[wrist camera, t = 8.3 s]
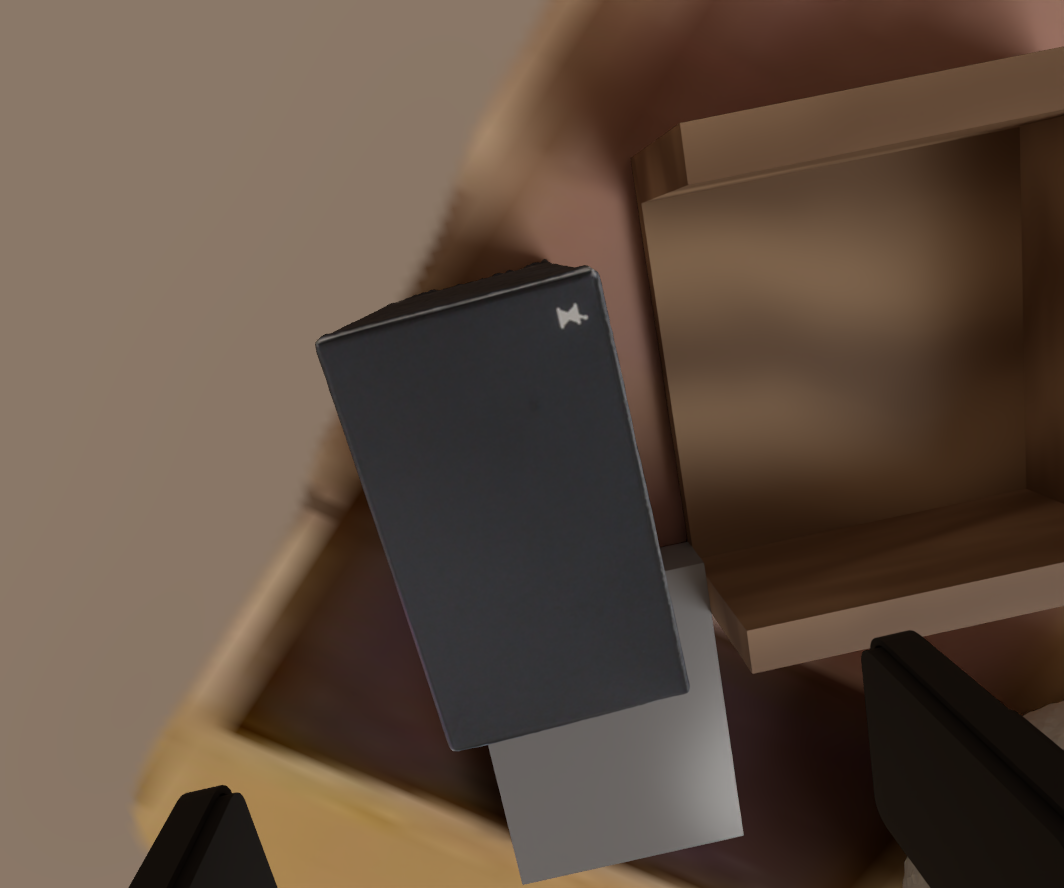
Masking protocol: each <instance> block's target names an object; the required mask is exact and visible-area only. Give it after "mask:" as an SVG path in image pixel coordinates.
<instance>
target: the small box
mask: <svg viewBox="0 0 1064 888" xmlns="http://www.w3.org/2000/svg"><path fill="white" fill-rule="evenodd" d="M315 346H316V352H317V355H318V358H319V361H320V363H321V367H322V369H323V372H324V375H325V377H326V380H327V384H328V387H329V391H330V393H331V396H332V399H333V402H334V404H335V408H336V410H337V413H338V416H339V419H340V422H341V425H342V428H343V431H344V434H345V437H346V440H347V443H348V446H349V449H350V452H351V455H352V457H353V460H354V463H355V466H356V469H357V472H358V475H359V478H360V481H361V484H362V487H363V490H364V493H365V496H366V499H367V502H368V505H369V508H370V511H371V513H372V516H373V519H374V522H375V525H376V528H377V531H378V534H379V537H380V540H381V543H382V546H383V549H384V552H385V555H386V558H387V561H388V564H389V567H390V570H391V573H392V576H393V579H394V582H395V585H396V588H397V591H398V594H399V597H400V600H401V603H402V606H403V609H404V612H405V615H406V618H407V621H408V624H409V627H410V630H411V633H412V636H413V639H414V642H415V645H416V648H417V651H418V654H419V657H420V660H421V663H422V666H423V669H424V672H425V675H426V678H427V681H428V684H429V687H430V690H431V693H432V696H433V700H434V703H435V706H436V709H437V712H438V715H439V718H440V721H441V724H442V727H443V730H444V733H445V736H446V739H447V742H448V745H449V748H450V749H451V750H452V751H461V750H466V749H471V748H476V747H481V746H485V745H489V744H494V743H497V742H501V741H505V740H509V739H514V738H518V737H522V736H525V735H528V734H532V733H538V732H541V731H544V730H548V729H552V728H556V727H561V726H565V725H568V724H572V723H575V722H579V721H582V720H586V719H591V718H595V717H599V716H602V715H606V714H610V713H614V712H618V711H622V710H626V709H630V708H633V707H637V706H641V705H644V704H648V703H652V702H656V701H660V700H664V699H667V698H671V697H674V696H679V695H684V694H686V693H689V689H690V684H689V680H688V675H687V670H686V665H685V661H684V656H683V652H682V647H681V642H680V638H679V633H678V628H677V623H676V619H675V614H674V609H673V605H672V601H671V597H670V593H669V589H668V583H667V578H666V574H665V569H664V564H663V559H662V555H661V551H660V547H659V542H658V537H657V532H656V528H655V522H654V517H653V513H652V509H651V504H650V500H649V496H648V491H647V486H646V481H645V478H644V474H643V469H642V464H641V460H640V456H639V451H638V447H637V444H636V439H635V434H634V429H633V424H632V419H631V415H630V410H629V406H628V402H627V398H626V392H625V386H624V382H623V378H622V373H621V369H620V364H619V360H618V355H617V351H616V347H615V343H614V338H613V332H612V329H611V327H610V321H609V316H608V311H607V307H606V302H605V298H604V293H603V288H602V283H601V279H600V276H599V274H598V272H597V271H595V270H593V269H592V268H591V267H589V266H586V265H584V266H579V267H575V268H574V267H568V266H562V265H558V264H552V263H550V262H548V261H547V260H546V259H544V260H542V262H541V263H538V262H537V263H532V264H530V265H527V266H526V267H524V268H523V269H520V270H517V271H512V270H509V271H506V273H504V274H503V273H497V274H494V275H493V276H492V277H489V278H485V279H483V278H482V279H480V280H478V281H475V282H470V283H466V284H458V285H456V286H454V287H450V288H447V289H443V290H440V291H438V290H430V291H428V292H423V293H421V294H419V295H414V296H412V297H410V298H407V299H405V300H402V301H399V302H396V303H391V304H389V305H387V306H386V307H384V308H382V309H380V310H378V311H376V312H374V313H372V314H369V315H368V316H366V317H364V318H362V319H360V320H358V321H355V322H353V323H351V324H349V325H347V326H344V327H342V328H341V329H339V330H337V331H335V332H333V333H331V334H325V335H323V336H321V337H320V338H319V339H318V340H317V341H316V344H315Z"/></svg>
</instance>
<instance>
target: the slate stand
mask: <svg viewBox="0 0 1064 888" xmlns="http://www.w3.org/2000/svg"><path fill="white" fill-rule="evenodd" d="M660 551H661V555H662V559H663V564H664V569H665V574H666V578H667V583H668V589H669V593H670V597H671V601H672V605H673V609H674V614H675V619H676V623H677V628H678V633H679V638H680V642H681V647H682V652H683V656H684V661H685V665H686V670H687V675H688V680H689V684H690V689H689V693H686V694H684V695H679V696H674V697H671V698H667V699H664V700H660V701H656V702H652V703H648V704H644V705H641V706H637V707H633V708H630V709H626V710H622V711H618V712H614V713H610V714H606V715H602V716H599V717H595V718H591V719H586V720H582V721H579V722H575V723H572V724H568V725H565V726H561V727H556V728H552V729H548V730H544V731H541V732H538V733H532V734H528V735H525V736H522V737H518V738H514V739H509V740H505V741H501V742H497V743H494V744H489V745H488V747H489V751H490V755H491V759H492V763H493V767H494V771H495V775H496V779H497V783H498V787H499V791H500V795H501V799H502V803H503V807H504V811H505V815H506V819H507V824H508V828H509V832H510V836H511V840H512V844H513V848H514V852H515V856H516V860H517V864H518V868H519V872H520V876H521V880H522V884H523V885H524V884H529V883H533V882H538V881H542V880H547V879H551V878H555V877H560V876H564V875H569V874H573V873H578V872H582V871H587V870H591V869H596V868H600V867H605V866H609V865H614V864H618V863H623V862H627V861H632V860H636V859H640V858H645V857H649V856H654V855H658V854H663V853H667V852H672V851H676V850H681V849H685V848H690V847H694V846H699V845H703V844H708V843H712V842H717V841H721V840H725V839H730V838H734V837H739V836H743V828H742V821H741V814H740V807H739V800H738V794H737V787H736V780H735V773H734V766H733V759H732V752H731V745H730V738H729V731H728V725H727V718H726V711H725V704H724V697H723V690H722V683H721V676H720V669H719V662H718V656H717V649H716V642H715V635H714V628H713V621H712V614H711V607H710V600H709V593H708V587H707V580H706V573H705V566H704V562H703V561H702V559H701V558H700V557H699V555H698V554H697V553H696V552H695V550H694V549H693V548H692V546H691V545H690V544H689V542H684V543H679V544H675V545H670V546H665V547H661V548H660Z"/></svg>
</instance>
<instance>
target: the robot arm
mask: <svg viewBox="0 0 1064 888" xmlns="http://www.w3.org/2000/svg"><path fill="white" fill-rule="evenodd" d="M861 662H862V672H863V683H864V693H865V703H866V714H867V724H868V734H869V745H870V755H871V765H872V775H873V786H874V796H875V802H876V806H877V809H878V812H879V814H880V817H881V819H882V821H883V822H884V824H885V826H886V827H887V829H888V830H889V832H890V833H891V834H892V836H893V837H894V838H895V840H896V841H897V843H898V844H899V845H900V847H901V848H902V850H903V851H904V852H905V854H906V855H907V856H908V858H909V859H910V861H911V862H912V863H913V865H914V866H915V867H916V869H917V870H918V872H919V873H920V874H921V876H922V877H923V879H924V880H925V881H926V883H927V884H928V885H929V887H930V888H1064V750H1063V749H1062V748H1060V747H1059V746H1058V745H1057V744H1056V743H1054V742H1053V741H1052V740H1051V739H1050V738H1048V737H1047V736H1046V735H1045V734H1044V733H1042V732H1041V731H1040V730H1039V729H1038V728H1036V727H1035V726H1034V725H1033V724H1032V723H1030V722H1029V721H1028V720H1027V719H1025V718H1024V717H1023V716H1021V715H1020V714H1018V713H1017V712H1015V711H1014V710H1010V709H1008V708H1007V707H1005V706H1004V705H1003V704H1002V703H1001V702H1000V701H998V700H997V699H996V698H995V697H994V696H992V695H991V694H990V693H989V692H988V691H986V690H985V689H984V688H983V687H982V686H980V685H979V684H978V683H977V682H976V681H974V680H973V679H972V678H971V677H970V676H969V675H967V674H966V673H965V672H964V671H963V670H961V669H960V668H959V667H958V666H957V665H955V664H954V663H953V662H952V661H951V660H949V659H948V658H947V657H946V656H945V655H943V654H942V653H941V652H940V651H939V650H937V649H936V648H935V647H934V646H933V645H932V644H930V643H929V642H928V641H927V640H926V639H924V638H923V637H922V636H921V635H920V634H918V633H917V632H915V631H913V630H908V631H903V632H899V633H894V634H890V635H885V636H881V637H877V638H874V639H873V640H872V641H871V644H870V650H866V651H864V652H862V656H861ZM129 888H277V885H276V883H275V880H274V877H273V874H272V872H271V869H270V866H269V864H268V861H267V858H266V856H265V853H264V850H263V848H262V845H261V842H260V839H259V837H258V834H257V831H256V829H255V826H254V823H253V821H252V818H251V815H250V813H249V810H248V807H247V804H246V802H245V799H244V797H243V796H242V795H241V794H240V793H232V792H231V790H230V789H229V788H228V787H227V786H225V785H220V786H216V787H211V788H207V789H202V790H198V791H194V792H189V793H186V794H184V795H182V796H181V797H180V798H179V800H178V801H177V803H176V805H175V806H174V808H173V810H172V812H171V813H170V815H169V817H168V819H167V821H166V822H165V824H164V826H163V828H162V829H161V831H160V833H159V835H158V836H157V838H156V840H155V842H154V844H153V845H152V847H151V849H150V851H149V852H148V854H147V856H146V858H145V859H144V861H143V863H142V865H141V867H140V868H139V870H138V872H137V874H136V875H135V877H134V879H133V881H132V883H131V884H130V886H129Z"/></svg>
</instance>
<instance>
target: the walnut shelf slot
mask: <svg viewBox="0 0 1064 888" xmlns="http://www.w3.org/2000/svg"><path fill="white" fill-rule="evenodd" d="M631 165H632V172H633V178H634V185H635V192H636V198H637V205H638V212H639V218H640V225H641V232H642V238H643V245H644V252H645V258H646V265H647V272H648V278H649V285H650V292H651V298H652V305H653V312H654V318H655V325H656V332H657V338H658V345H659V352H660V358H661V365H662V372H663V378H664V385H665V392H666V398H667V405H668V412H669V418H670V425H671V432H672V438H673V445H674V452H675V458H676V465H677V472H678V478H679V485H680V492H681V498H682V505H683V512H684V518H685V525H686V532H687V538H688V542H689V544H690V545H691V546H692V548H693V549H694V550H695V552H696V553H697V554H698V555H699V557H700V558H701V559H702V561H703V562H704V566H705V573H706V580H707V587H708V593H709V600H710V607H711V613H712V614H713V616H714V617H715V619H716V620H717V622H718V623H719V625H720V626H721V628H722V629H723V631H724V632H725V634H726V635H727V637H728V638H729V640H730V641H731V643H732V644H733V646H734V647H735V649H736V650H737V652H738V653H739V655H740V656H741V658H742V659H743V661H744V662H745V663H746V665H747V666H748V668H749V669H750V671H751V672H752V674H754V673H759V672H763V671H768V670H772V669H777V668H781V667H786V666H791V665H795V664H800V663H804V662H809V661H814V660H818V659H823V658H827V657H832V656H836V655H841V654H846V653H850V652H855V651H859V650H864V649H869V648H870V644H871V641H872V640H873V639H874V638H877V637H881V636H885V635H890V634H894V633H899V632H903V631H908V630H913V631H915V632H917V633H918V634H920V635H921V636H922V637H924V636H928V635H933V634H937V633H942V632H946V631H951V630H956V629H960V628H965V627H969V626H974V625H979V624H983V623H988V622H992V621H997V620H1001V619H1006V618H1011V617H1015V616H1020V615H1024V614H1029V613H1034V612H1038V611H1043V610H1047V609H1052V608H1056V607H1061V606H1064V47H1059V48H1054V49H1049V50H1044V51H1039V52H1034V53H1029V54H1024V55H1019V56H1014V57H1009V58H1004V59H999V60H994V61H989V62H984V63H979V64H974V65H969V66H963V67H958V68H953V69H948V70H943V71H938V72H933V73H928V74H923V75H918V76H913V77H908V78H903V79H898V80H893V81H888V82H883V83H878V84H873V85H868V86H863V87H858V88H853V89H848V90H843V91H838V92H833V93H828V94H823V95H818V96H813V97H808V98H803V99H798V100H793V101H788V102H783V103H778V104H773V105H768V106H763V107H758V108H753V109H748V110H743V111H738V112H733V113H728V114H723V115H718V116H713V117H708V118H703V119H698V120H693V121H688V122H683V123H679V124H678V125H677V126H675V127H674V128H672V129H671V130H670V131H668V132H667V133H665V134H664V135H663V136H661V137H660V138H658V139H657V140H656V141H654V142H653V143H651V144H650V145H649V146H647V147H646V148H644V149H643V150H642V151H640V152H639V153H637V154H636V155H635V156H633V157H632V158H631Z"/></svg>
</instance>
